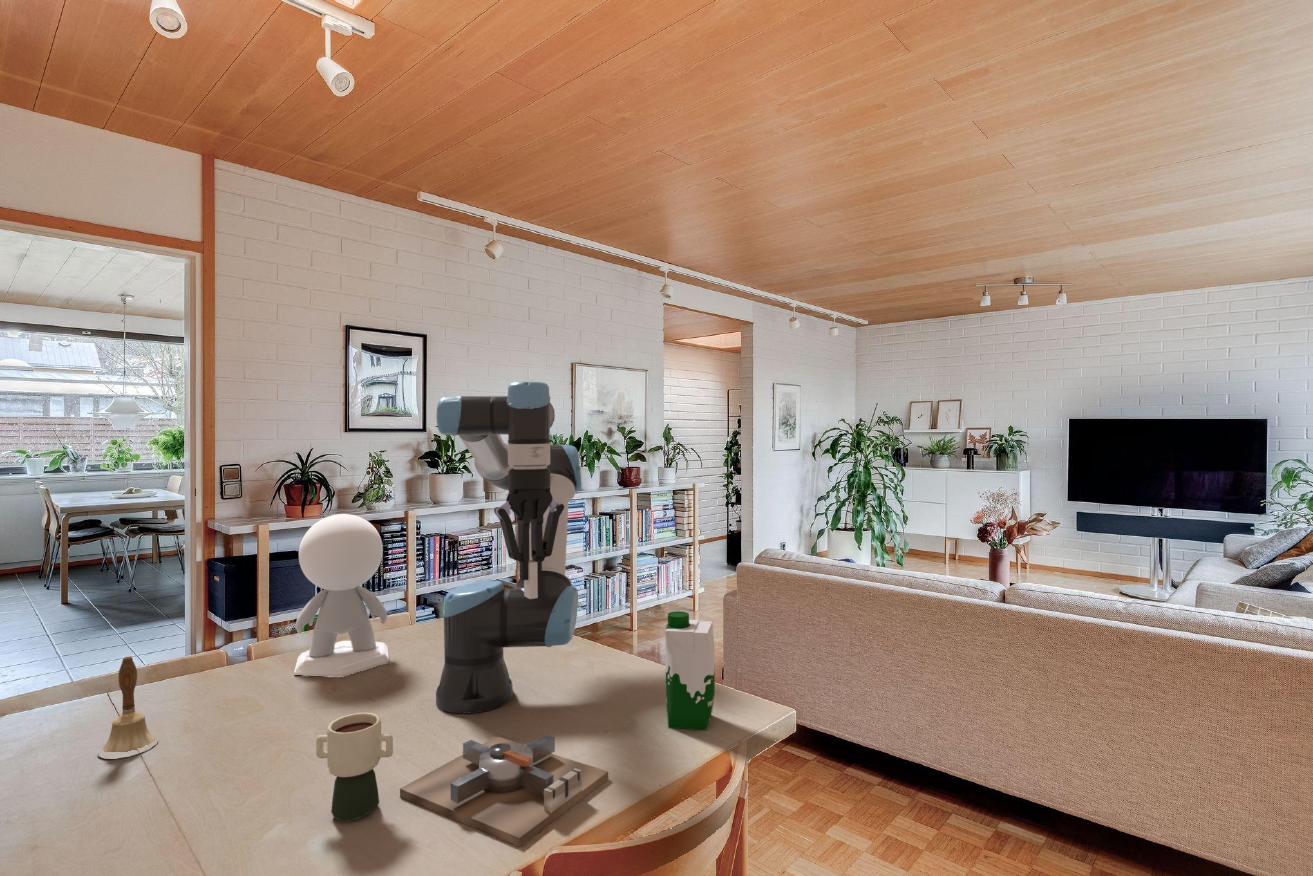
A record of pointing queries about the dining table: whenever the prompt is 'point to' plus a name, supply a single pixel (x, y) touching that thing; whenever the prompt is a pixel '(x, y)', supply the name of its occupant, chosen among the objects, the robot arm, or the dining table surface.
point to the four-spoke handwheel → (504, 768)
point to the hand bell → (128, 716)
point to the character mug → (354, 762)
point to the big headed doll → (341, 597)
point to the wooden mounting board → (507, 796)
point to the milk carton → (689, 671)
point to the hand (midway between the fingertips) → (530, 596)
